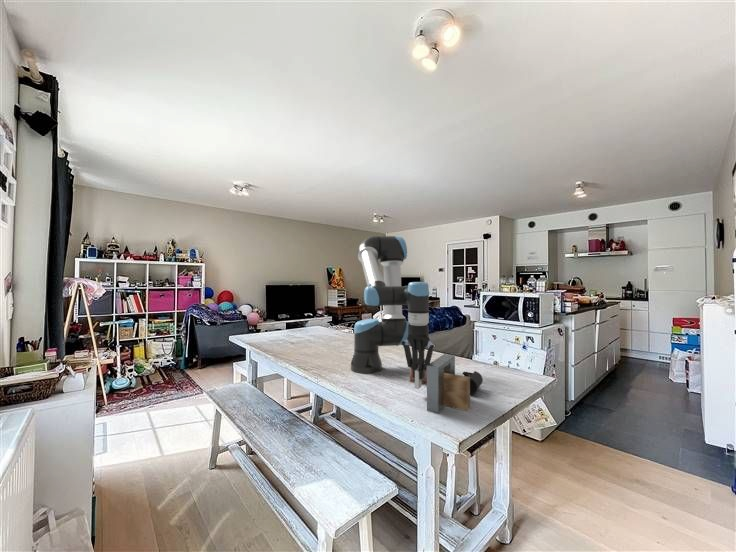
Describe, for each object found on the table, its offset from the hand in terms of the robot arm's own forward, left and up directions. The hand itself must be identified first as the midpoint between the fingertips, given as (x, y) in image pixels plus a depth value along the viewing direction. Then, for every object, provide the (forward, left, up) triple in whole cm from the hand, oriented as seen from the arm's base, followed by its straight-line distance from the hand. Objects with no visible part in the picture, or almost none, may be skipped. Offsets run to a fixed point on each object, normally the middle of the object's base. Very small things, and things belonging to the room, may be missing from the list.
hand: (418, 387), depth 115 cm
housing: (+9, 0, -4) cm, 10 cm away
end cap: (+15, +16, -4) cm, 22 cm away
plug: (+12, 0, -4) cm, 12 cm away
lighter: (-6, +15, -4) cm, 16 cm away
